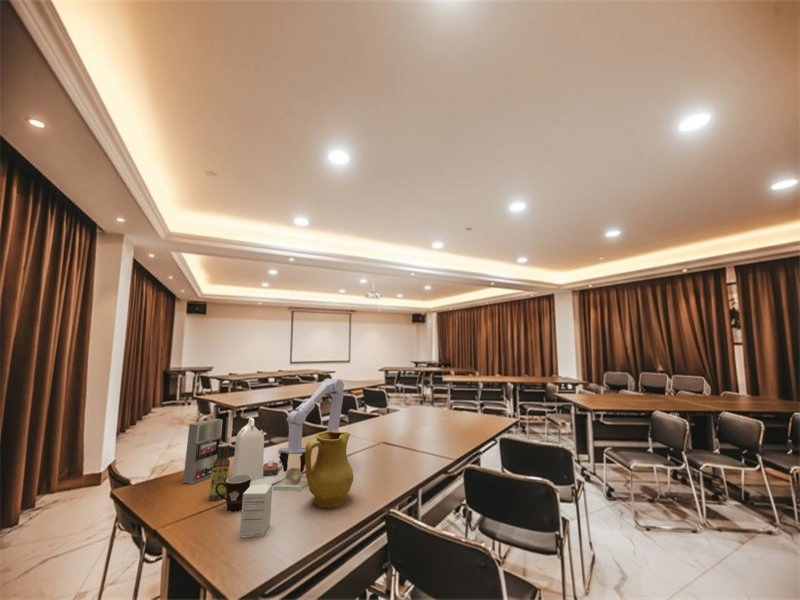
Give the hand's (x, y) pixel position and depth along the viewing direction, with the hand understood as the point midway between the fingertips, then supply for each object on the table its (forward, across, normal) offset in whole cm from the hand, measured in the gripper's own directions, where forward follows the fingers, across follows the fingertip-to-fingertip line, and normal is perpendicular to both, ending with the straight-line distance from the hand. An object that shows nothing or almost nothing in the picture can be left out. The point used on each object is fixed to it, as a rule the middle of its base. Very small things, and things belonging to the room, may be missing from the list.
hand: (293, 471), depth 142 cm
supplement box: (+5, +4, -38) cm, 39 cm away
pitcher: (+6, +21, -15) cm, 26 cm away
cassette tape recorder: (+5, -45, +3) cm, 46 cm away
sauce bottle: (+5, -24, -16) cm, 29 cm away
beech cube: (+4, 0, 0) cm, 4 cm away
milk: (+6, -25, +7) cm, 27 cm away
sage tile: (+5, 0, 0) cm, 5 cm away
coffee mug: (+5, -13, -23) cm, 27 cm away
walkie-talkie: (+6, -18, +17) cm, 26 cm away
